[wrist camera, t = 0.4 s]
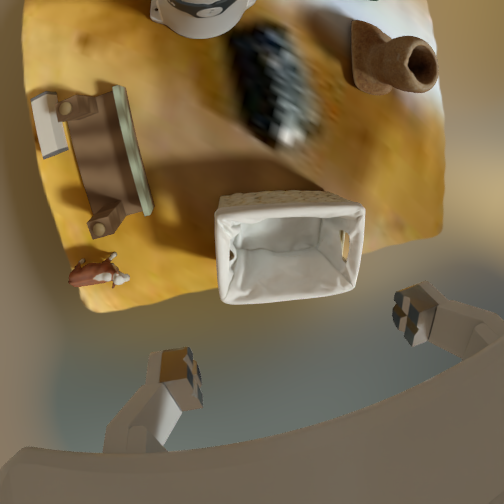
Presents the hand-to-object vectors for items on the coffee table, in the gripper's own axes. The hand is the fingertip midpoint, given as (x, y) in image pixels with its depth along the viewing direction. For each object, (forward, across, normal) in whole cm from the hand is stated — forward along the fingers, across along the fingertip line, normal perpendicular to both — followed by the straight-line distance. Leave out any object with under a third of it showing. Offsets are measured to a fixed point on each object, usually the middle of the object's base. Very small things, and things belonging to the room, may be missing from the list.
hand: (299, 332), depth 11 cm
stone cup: (+46, -33, -15) cm, 59 cm away
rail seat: (+46, +20, -5) cm, 51 cm away
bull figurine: (+46, +28, +14) cm, 56 cm away
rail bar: (+46, +30, -16) cm, 57 cm away
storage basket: (+46, -7, +15) cm, 49 cm away
